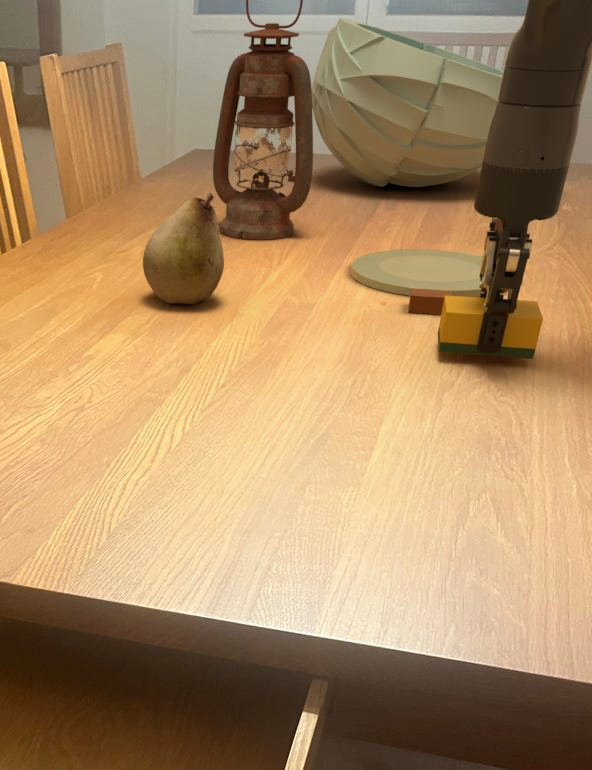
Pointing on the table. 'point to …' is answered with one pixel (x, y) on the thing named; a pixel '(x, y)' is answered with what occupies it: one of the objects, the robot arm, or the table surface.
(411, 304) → the brown rectangular block
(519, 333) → the sponge
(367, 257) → the plate
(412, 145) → the bowl
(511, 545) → the table surface
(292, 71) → the lantern
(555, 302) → the table surface
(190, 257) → the fruit
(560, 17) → the robot arm
